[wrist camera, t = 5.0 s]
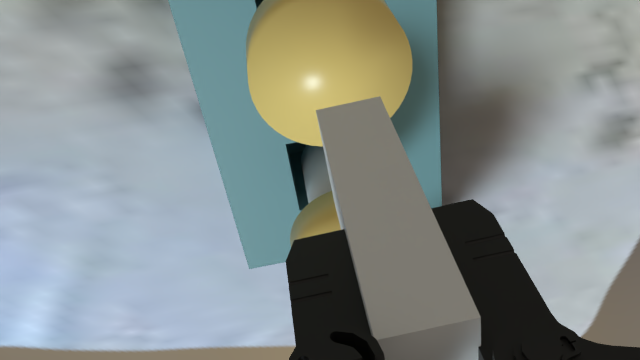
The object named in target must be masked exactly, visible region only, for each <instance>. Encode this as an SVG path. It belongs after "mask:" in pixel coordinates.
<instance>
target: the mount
mask: <svg viewBox="0 0 640 360" xmlns="http://www.w3.org/2000/svg"><path fill="white" fill-rule="evenodd" d="M168 1H169V4H170V8H171V11H172V14H173V18H174V21H175V24H176V28H177V31H178V34H179V38H180V41H181V44H182V48H183V51H184V54H185V57H186V61H187V64H188V67H189V71H190V74H191V77H192V81H193V84H194V87H195V91H196V94H197V97H198V101H199V104H200V107H201V110H202V114H203V117H204V120H205V124H206V127H207V130H208V134H209V137H210V140H211V144H212V147H213V150H214V154H215V157H216V160H217V163H218V167H219V170H220V173H221V177H222V180H223V183H224V187H225V190H226V193H227V197H228V200H229V203H230V207H231V210H232V213H233V216H234V220H235V223H236V226H237V230H238V233H239V236H240V240H241V243H242V246H243V250H244V253H245V256H246V260H247V263H248V266H249V269H252V268H257V267H262V266H267V265H272V264H277V263H283V262H286V259H287V257H288V254H289V252H290V249H291V244H290V234H291V229H292V226H293V223H294V221H295V219H296V218H297V216H298V215H299V213H300V212H301V211H302V210H303V209H304V208H305V207H306V206H307V205H308V204H309V203H308V198H307V192H306V187H305V182H304V176H303V171H302V166H301V156H302V153H303V150H304V148H305V147H306V146H307V145H306V144H302V143H299V142H296V141H293V140H291V139H289V138H286V137H284V136H283V135H281V134H280V133H278V132H277V131H275V130H274V129H273V128H272V127H271V126H269V125H268V124H267V123H266V121H265V120H264V119H263V118H262V117H261V115H260V114H259V112H258V111H257V109H256V107H255V105H254V103H253V101H252V98H251V94H250V91H249V85H248V74H247V60H246V38H247V32H248V29H249V25H250V22H251V20H252V18H253V15H254V13H255V12H256V10H257V8H258V7H259V5H260V4H261V3H262V2H263V0H168ZM384 1H385V3H386V4H387V6H388V7H389V9H390V10H391V12H392V13H393V15H394V16H395V18H396V20H397V21H398V23H399V24H400V26H401V27H402V29H403V30H404V32H405V34H406V37H407V39H408V41H409V45H410V48H411V53H412V76H411V81H410V85H409V88H408V91H407V93H406V96H405V98H404V100H403V101H402V103H401V105H400V107H399V108H398V109H397V111H396V112H395V113H394V115H393V116H392V117H391V118H390V119H391V121H392V123H393V126H394V128H395V130H396V132H397V134H398V137H399V139H400V141H401V143H402V145H403V148H404V150H405V152H406V154H407V156H408V159H409V161H410V163H411V165H412V167H413V170H414V172H415V174H416V176H417V178H418V181H419V183H420V185H421V187H422V189H423V192H424V194H425V196H426V198H427V200H428V203H429V205H430V207H431V208H435V207H440V206H442V192H441V153H440V115H439V77H438V39H437V1H436V0H384Z"/></svg>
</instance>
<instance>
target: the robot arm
mask: <svg viewBox="0 0 640 360" xmlns="http://www.w3.org/2000/svg"><path fill="white" fill-rule="evenodd" d="M316 114H317V119H318V124H319V129H320V134H321V139H322V144H323V149H324V154H325V159H326V164H327V169H328V174H329V179H330V183H331V188H332V193H333V198H334V203H335V207H336V211H337V215H338V219H339V223H340V228H341V230H338V231H333V232H329V233H324V234H319V235H315V236H310V237H306V238H301V239H296V240H294V242H293V244H292V247H291V249H290V252H289V254H288V257H287V259H286V267H287V275H288V283H289V291H290V300H291V308H292V316H293V325H294V333H295V341H296V347H295V349H294V351H293V353H292V354H291V356H290V358H289V360H640V348H637V347H623V346H611V345H604V344H598V343H594V342H591V341H588V340H585V339H583V338H581V337H579V336H578V335H577V334H576V333H575V332H574V331H572V330H570V329H568V328H567V327H565V326H563V325H561V324H560V323H559V322H558V321H557V320H556V319H555V317H554V316H553V315H552V314H551V312H550V311H549V309H548V307H547V305H546V304H545V302H544V300H543V299H542V297H541V295H540V293H539V292H538V290H537V288H536V287H535V285H534V283H533V281H532V280H531V278H530V276H529V275H528V273H527V271H526V269H525V268H524V266H523V264H522V263H521V261H520V259H519V257H518V256H517V254H516V253H514V249H513V247H512V246H511V244H510V242H509V240H508V239H507V237H505V235H504V232H503V230H502V228H501V227H500V225H499V223H498V222H497V220H496V218H495V216H494V215H493V214H492V213H491V212H490V211H488V210H487V209H485V208H484V207H483V206H481V205H480V204H478V203H477V202H476V201H474V200H473V199H472V200H467V201H463V202H458V203H454V204H449V205H445V206H440V207H435V208H431V207H430V205H429V203H428V200H427V198H426V196H425V194H424V192H423V189H422V187H421V185H420V183H419V181H418V178H417V176H416V174H415V172H414V170H413V167H412V165H411V163H410V161H409V159H408V156H407V154H406V152H405V150H404V148H403V145H402V143H401V141H400V139H399V137H398V134H397V132H396V130H395V128H394V126H393V123H392V121H391V119H390V117H389V115H388V113H387V110H386V108H385V106H384V104H383V102H382V99H381V97H380V96H379V97H374V98H370V99H365V100H360V101H356V102H351V103H347V104H342V105H337V106H333V107H328V108H324V109H319V110H316Z"/></svg>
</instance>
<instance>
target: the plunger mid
mask: <svg viewBox="0 0 640 360" xmlns="http://www.w3.org/2000/svg"><path fill="white" fill-rule="evenodd" d="M246 60H247V74H248V85H249V91H250V94H251V98H252V101H253V103H254V105H255V107H256V109H257V111H258V112H259V114H260V115H261V117H262V118H263V119H264V120H265V121H266V123H267V124H268V125H269V126H271V127H272V128H273V129H274V130H275V131H277V132H278V133H280V134H281V135H283V136H284V137H286V138H289V139H291V140H293V141H296V142H299V143H302V144H306V145H311V146H321V147H322V146H323V144H322V139H321V134H320V129H319V124H318V119H317V114H316V110H319V109H324V108H328V107H333V106H337V105H342V104H347V103H351V102H356V101H360V100H365V99H370V98H374V97H379V96H380V97H381V99H382V102H383V104H384V106H385V108H386V110H387V113H388V115H389V117H390V118H391V117H392V116H393V115H394V113H395V112H396V111H397V109H398V108H399V107H400V105H401V103H402V101H403V100H404V98H405V96H406V93H407V91H408V88H409V85H410V81H411V76H412V53H411V48H410V45H409V41H408V39H407V37H406V34H405V32H404V30H403V29H402V27H401V26H400V24H399V23H398V21H397V20H396V18H395V16H394V15H393V13H392V12H391V10H390V9H389V7H388V6H387V4H386V3H385V1H384V0H263V2H262V3H261V4H260V5H259V7H258V8H257V10H256V12H255V13H254V15H253V18H252V20H251V22H250V25H249V29H248V32H247V38H246Z"/></svg>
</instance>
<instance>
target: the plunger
mask: <svg viewBox="0 0 640 360" xmlns="http://www.w3.org/2000/svg"><path fill="white" fill-rule="evenodd" d="M301 166H302V171H303V176H304V182H305V187H306V192H307V198H308V203H309V204H308V205H307V206H306V207H305V208H304V209H303V210H302V211H301V212H300V213H299V215H298V216H297V218H296V219H295V221H294V223H293V226H292V229H291V234H290V244H291V247H292V244H293V242H294V240H296V239H301V238H306V237H310V236H315V235H319V234H324V233H329V232H333V231H338V230H341V228H340V223H339V219H338V215H337V211H336V207H335V203H334V198H333V193H332V188H331V183H330V179H329V174H328V169H327V164H326V159H325V154H324V149H323V146H322V147H321V146H311V145H307V146H306V147H305V148H304V150H303V153H302V156H301Z"/></svg>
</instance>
